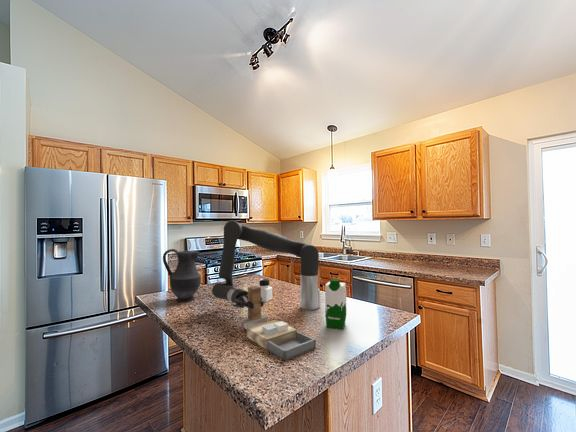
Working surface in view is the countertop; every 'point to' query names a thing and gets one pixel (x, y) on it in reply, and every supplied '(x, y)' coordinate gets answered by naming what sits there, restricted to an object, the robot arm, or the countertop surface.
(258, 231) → the robot arm
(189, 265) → the pitcher
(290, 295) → the countertop surface
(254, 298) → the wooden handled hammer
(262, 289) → the medicine bottle
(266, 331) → the tile
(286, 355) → the tray
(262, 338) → the light wood board
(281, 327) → the tile
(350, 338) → the countertop surface
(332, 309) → the milk carton
